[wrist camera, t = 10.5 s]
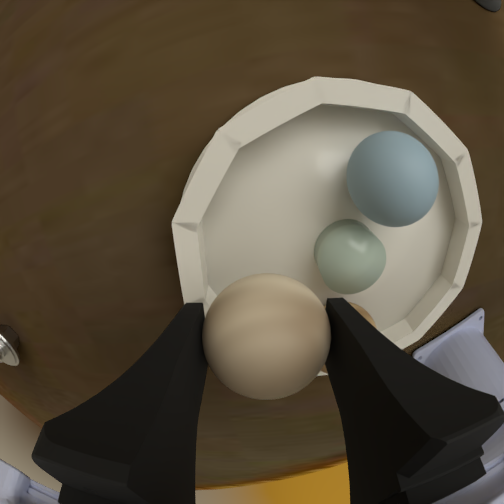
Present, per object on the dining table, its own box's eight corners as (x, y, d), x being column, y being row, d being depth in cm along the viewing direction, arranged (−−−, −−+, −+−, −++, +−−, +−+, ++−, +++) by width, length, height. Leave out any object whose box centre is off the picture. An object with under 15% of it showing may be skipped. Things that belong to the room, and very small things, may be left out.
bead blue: (418, 186, 14) (465, 214, 10) (355, 222, 15) (388, 261, 11) (390, 114, 12) (439, 119, 8) (319, 150, 13) (349, 166, 9)
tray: (473, 279, 18) (491, 296, 16) (276, 384, 22) (279, 409, 20) (402, 36, 11) (426, 28, 8) (117, 194, 15) (97, 209, 12)
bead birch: (331, 311, 12) (361, 391, 8) (244, 351, 13) (245, 433, 9) (286, 230, 10) (312, 305, 6) (186, 283, 11) (163, 369, 7)
